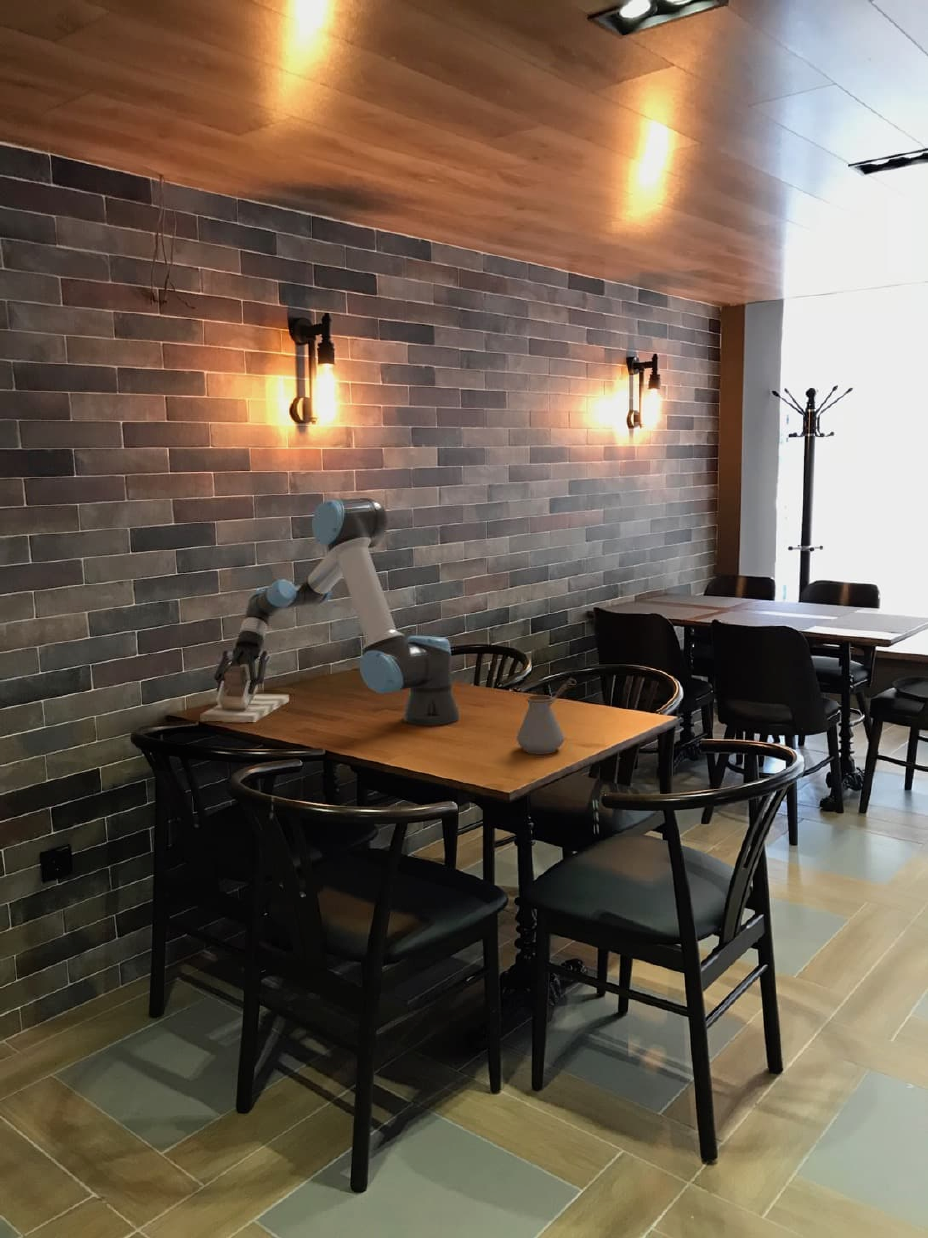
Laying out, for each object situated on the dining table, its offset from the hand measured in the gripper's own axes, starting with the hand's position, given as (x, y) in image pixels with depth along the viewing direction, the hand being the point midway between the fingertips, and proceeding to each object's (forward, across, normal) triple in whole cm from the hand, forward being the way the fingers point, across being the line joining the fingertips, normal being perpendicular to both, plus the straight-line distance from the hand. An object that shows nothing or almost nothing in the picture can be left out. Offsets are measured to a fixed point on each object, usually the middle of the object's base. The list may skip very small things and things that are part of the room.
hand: (231, 702), depth 276 cm
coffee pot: (+16, -93, +9) cm, 95 cm away
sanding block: (-4, 0, -5) cm, 6 cm away
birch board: (-3, 0, -10) cm, 11 cm away
